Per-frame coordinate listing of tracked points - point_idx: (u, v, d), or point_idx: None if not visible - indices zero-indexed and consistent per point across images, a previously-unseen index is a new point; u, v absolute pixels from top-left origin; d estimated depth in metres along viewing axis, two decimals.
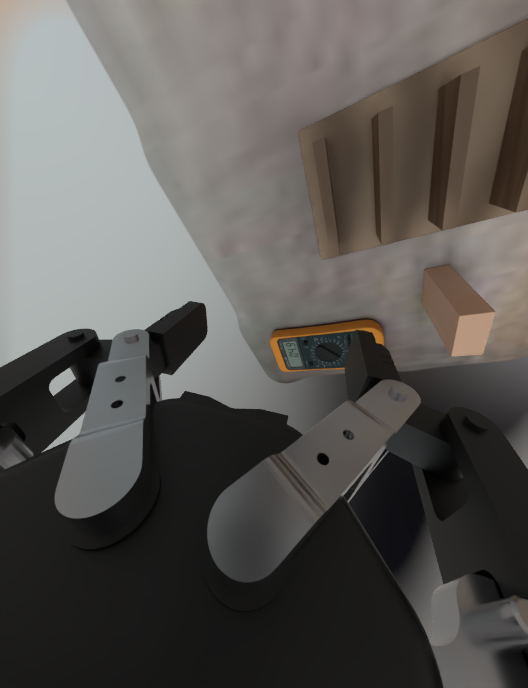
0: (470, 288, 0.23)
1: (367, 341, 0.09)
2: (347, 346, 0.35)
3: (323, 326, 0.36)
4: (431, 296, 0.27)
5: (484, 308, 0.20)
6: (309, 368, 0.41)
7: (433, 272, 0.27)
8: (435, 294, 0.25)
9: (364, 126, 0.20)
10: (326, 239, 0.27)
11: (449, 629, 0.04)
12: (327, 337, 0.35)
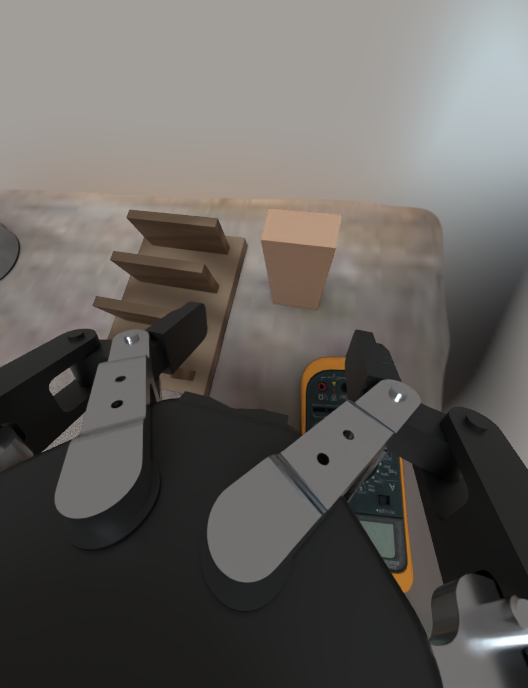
0: None
1: (367, 341, 0.09)
2: None
3: None
4: (290, 292, 0.22)
5: None
6: (400, 509, 0.18)
7: None
8: (281, 285, 0.21)
9: (126, 325, 0.26)
10: (184, 383, 0.23)
11: (450, 629, 0.04)
12: None
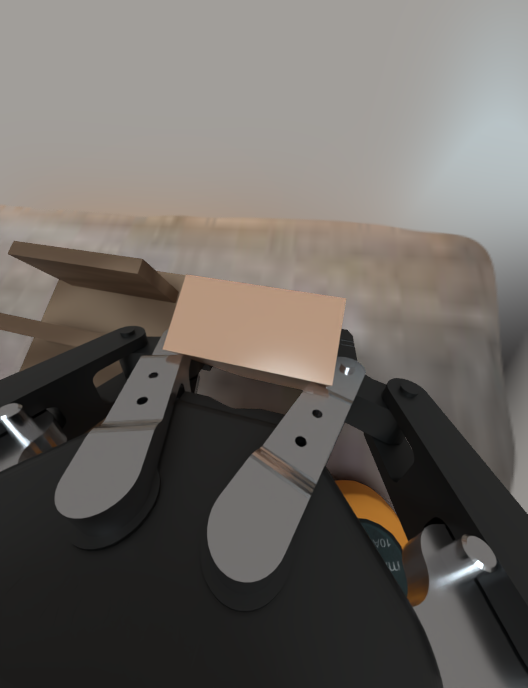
0: None
1: None
2: None
3: None
4: (260, 379, 0.14)
5: None
6: None
7: None
8: (242, 374, 0.12)
9: None
10: None
11: (422, 583, 0.04)
12: None
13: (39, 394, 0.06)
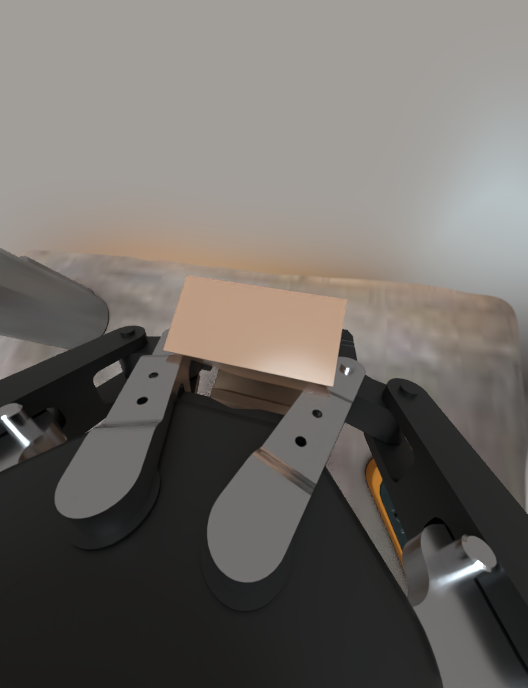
0: None
1: None
2: None
3: (395, 548, 0.23)
4: (261, 379, 0.14)
5: None
6: None
7: None
8: (243, 375, 0.12)
9: (223, 401, 0.28)
10: None
11: (422, 583, 0.04)
12: None
13: (39, 394, 0.06)
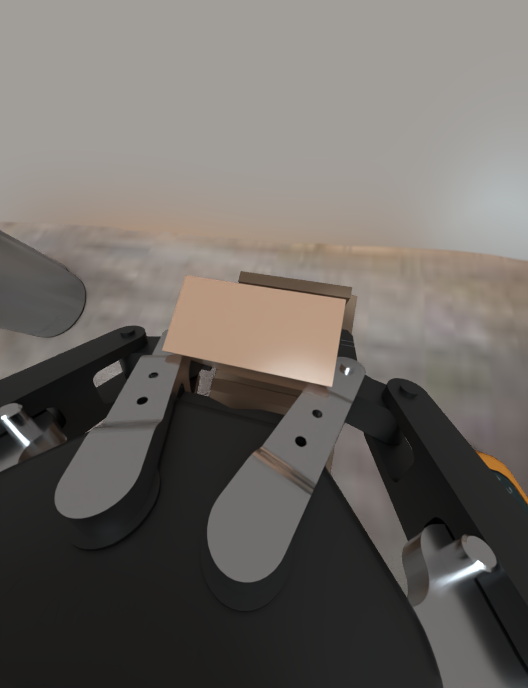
0: None
1: None
2: None
3: None
4: (260, 379, 0.14)
5: None
6: None
7: None
8: (242, 375, 0.12)
9: (226, 396, 0.23)
10: None
11: (422, 582, 0.04)
12: None
13: (39, 394, 0.06)
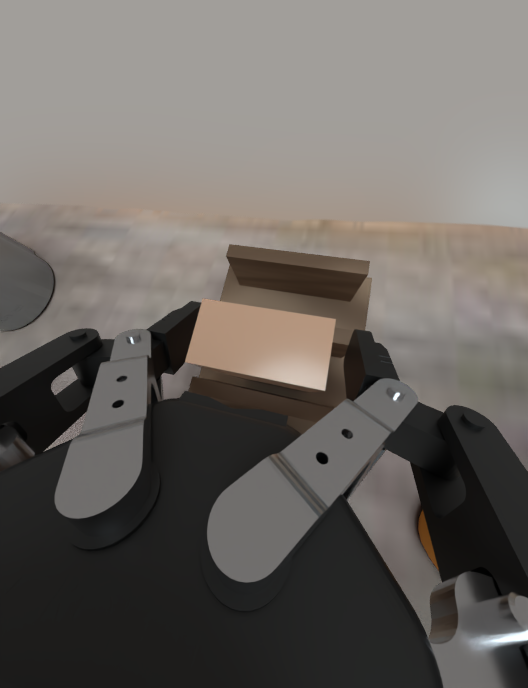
0: None
1: (366, 340, 0.10)
2: None
3: None
4: (263, 382, 0.15)
5: None
6: None
7: None
8: None
9: None
10: None
11: (448, 627, 0.04)
12: None
13: None
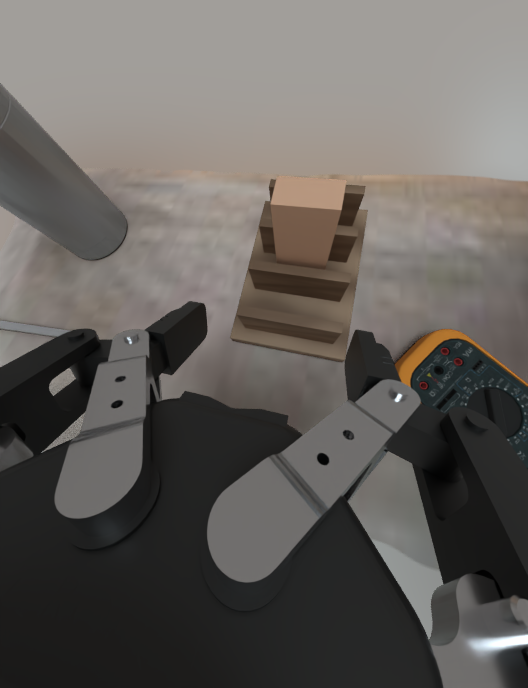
0: None
1: (367, 341, 0.09)
2: (457, 393, 0.21)
3: None
4: (296, 265, 0.23)
5: None
6: None
7: None
8: (287, 257, 0.22)
9: (256, 293, 0.27)
10: (324, 346, 0.24)
11: (450, 629, 0.04)
12: None
13: None
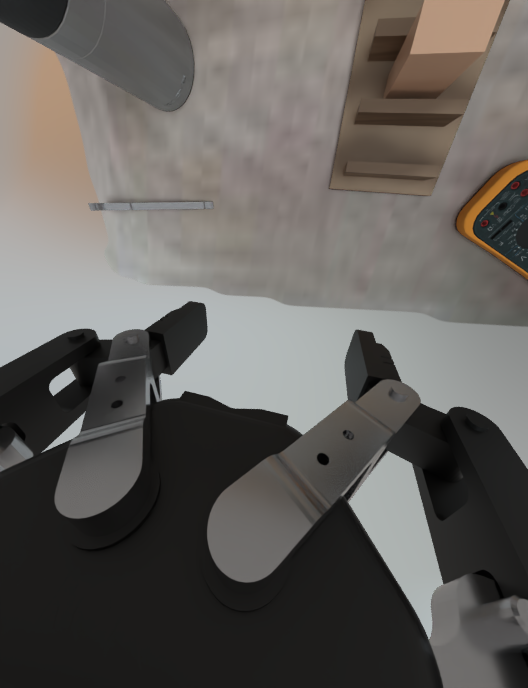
0: (405, 40, 0.19)
1: (367, 341, 0.09)
2: (512, 222, 0.27)
3: (497, 257, 0.31)
4: (408, 93, 0.23)
5: (418, 17, 0.16)
6: None
7: (385, 93, 0.24)
8: (403, 88, 0.22)
9: (355, 131, 0.27)
10: (414, 184, 0.29)
11: (450, 629, 0.04)
12: (509, 251, 0.29)
13: None
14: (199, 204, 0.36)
